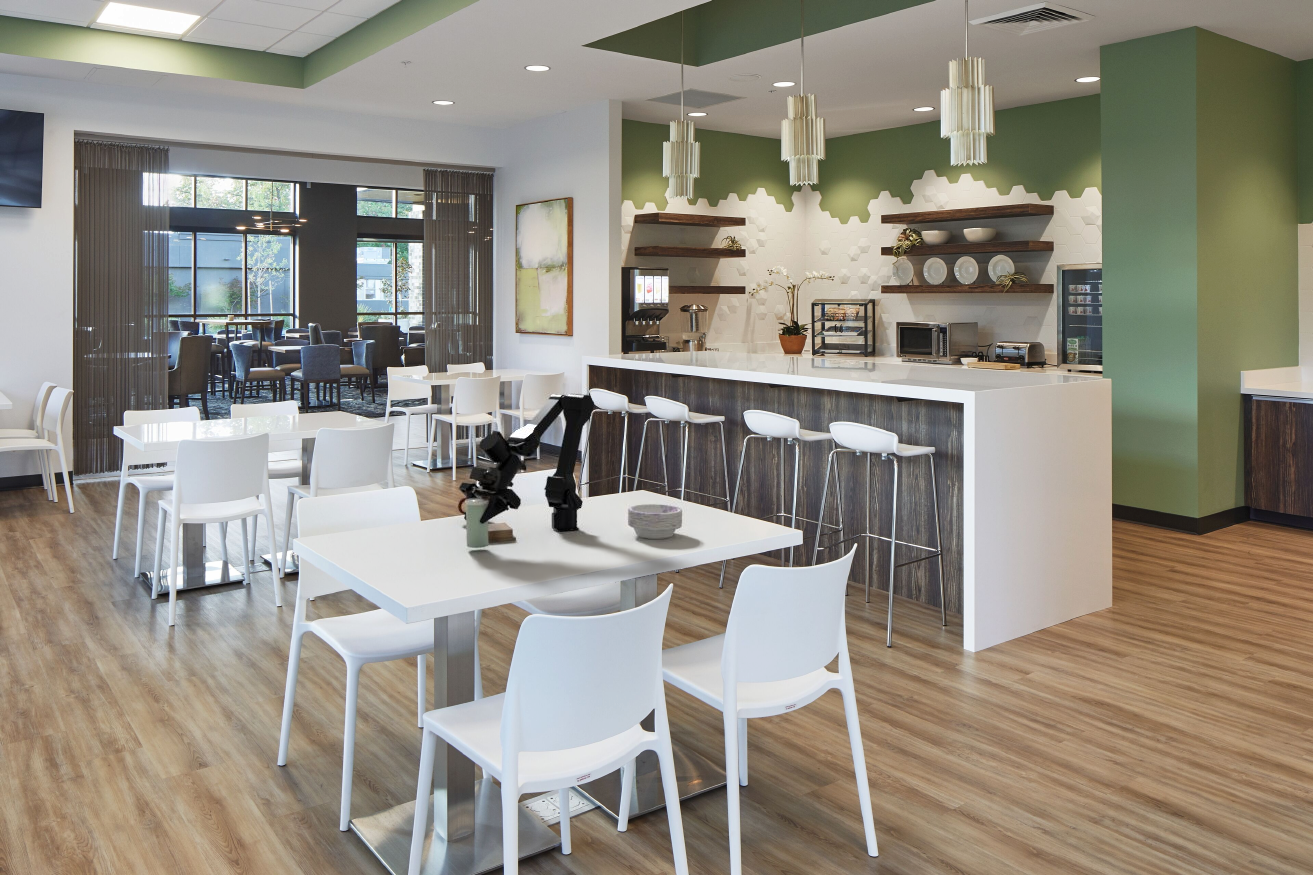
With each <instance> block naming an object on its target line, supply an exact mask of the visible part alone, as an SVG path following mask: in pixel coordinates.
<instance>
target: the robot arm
mask: <svg viewBox="0 0 1313 875" xmlns="http://www.w3.org/2000/svg"><path fill="white" fill-rule="evenodd" d="M594 407H595V403H594V400H593V398H592V396H591V395H589V394H581V393H569V394H568V395H565V394H558V393H554V394H551V395H550V396H549V397H548V401H546V402H545V404H544V405H543V406H542V407H541V408H540V410H539V411H538V412H537V413H536V415H535V416H534V417H533V418H532V419H531V420H530V421H529V422H528V423H527V424H526V425H525V426H524V427H521V428H519V429H517V430H516V431H515V432H513V433H512V434H511V435H510V436H509V437H508V439H506V438H505V437H504V436H503V434H502V433H501V431H500V430H498V431H497V430H493V432H492V433H489V434H488V435H486V436H485V437H484V438H482V439H481V441H480V442H479V444H478V445H479V449H480V450H481V452H483V453H484V455H485V456H486V457H487V458H488V460H490V461H491V462H492V463H493V464H496V465H495V466H494V467H493V466H488V468H483V467H477V466H472V468H471V471H470V474H469V478H468V479H470V480H475V481H477V482H478V483H477V484H478V485H479V486H482V489H480V488H479V487H478V485H477V484H476V483H475V482H470V481H462V482H461V484H459V487H458V489H459V491H460V492H461V493H462V494H463V495H464V497H465V498H466V497H467V498H468V499H471V498H484V497H486V498H490V500H489V504H488V506H487V508H486V510H485V512H484V513H483V515H482V517H481V519H480V523H481V524H483V523H485V522H487V521H488V522H489V521H490V520H491V519H493V518H495V517H496V516H499V514H502V513H503V512H505V511H509V510H510V509H512V510H518V509H519V508H520V506H521V505H522V503H521V502H522V500H521V498H520V497H519V496H518V495H517V493H516V492H515V491H514V490H513V489H512V488H513V486H514V482H512V481H513V480H514V478H515V476H517V473H518V472H519V471H527V464H526V460H524V459H521V458H520V457H525V458H529V457H530V458H531V457H532V456H533V455H534V454H535V453H536V452H537V450H538V449H539V446H540V445H541V439H542V436H543V435H544V433H545V432H546V431H547V430H548V429H549V427H551V425H552V424H553V422H555V421H556V420H557V418H558V417H559V416H560V415H561V413H563V417H564V420H565V428H564V430H563V431H564V432H563V436H562V441H561V446H560V449H559V450H560V451H559V457H558V460H557V466H556V470H555V472H554V473H553V475H548V476H547V477H546V483H545V487H544V488H543V490H544V495H545V497H546V501H547V505H548V507H549V508H553V509H552V513H551V529H553V530H554V531H556V532H566V531H567V532H568V531H578V530H580V527H579V526H578V511H579V510H580V509H582V507H583V502H584V501H583V499H582V498H581V497H580V496H579V495H578V494H577V483H576V480H575V476H574V472H575V468H576V462H577V458H578V453H579V449H580V443H581V438H582V434H583V429H584V426H585V425H586V424H587V423H588V422H589V420H590V419H591V416H592V413H593V411H594ZM509 487H510V488H509ZM464 512H465V514H464V518H463V519H464V520H465V521H466V511H464Z"/></svg>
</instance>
